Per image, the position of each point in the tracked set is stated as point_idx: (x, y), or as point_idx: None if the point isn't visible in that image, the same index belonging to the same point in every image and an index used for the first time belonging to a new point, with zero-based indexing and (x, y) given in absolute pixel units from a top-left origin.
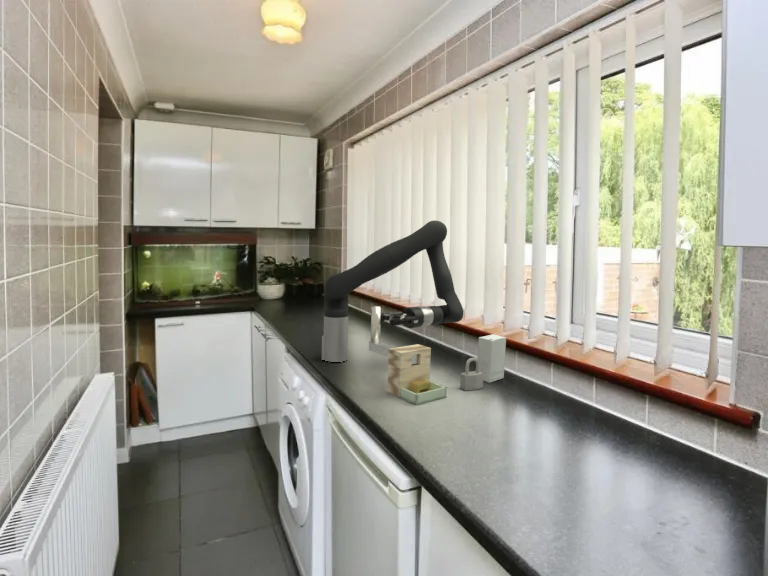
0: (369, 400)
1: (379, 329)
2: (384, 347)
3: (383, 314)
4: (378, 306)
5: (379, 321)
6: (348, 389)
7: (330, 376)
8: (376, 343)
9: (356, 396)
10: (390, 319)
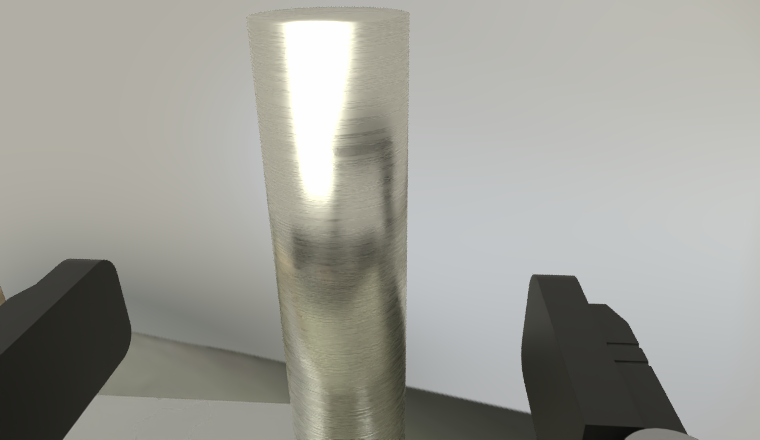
0: (113, 377)
1: (283, 334)
2: (143, 403)
3: (648, 429)
4: (334, 21)
5: (272, 235)
6: (281, 386)
7: (514, 422)
8: (283, 411)
9: (191, 366)
10: (99, 260)
